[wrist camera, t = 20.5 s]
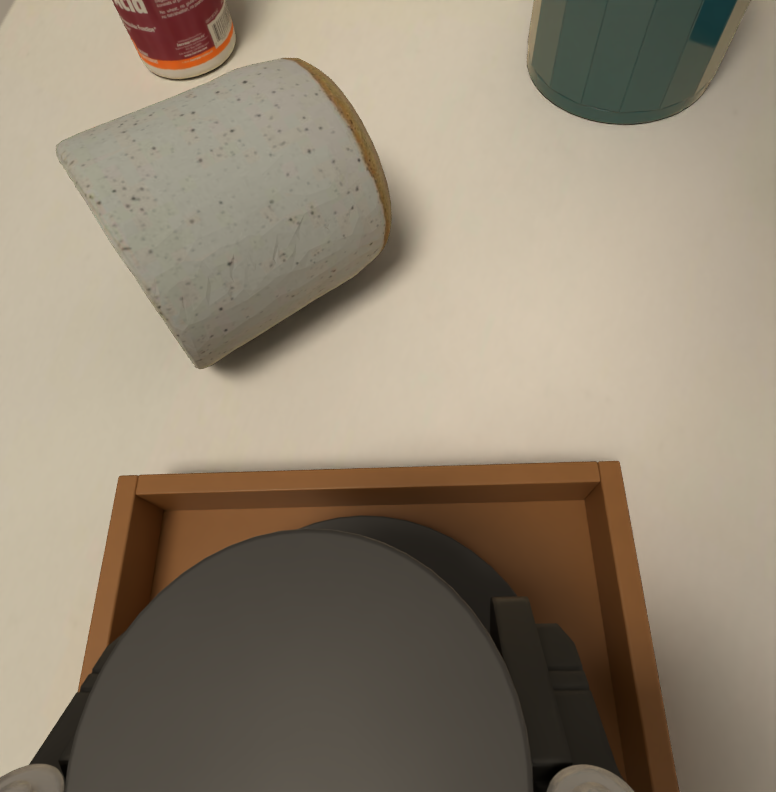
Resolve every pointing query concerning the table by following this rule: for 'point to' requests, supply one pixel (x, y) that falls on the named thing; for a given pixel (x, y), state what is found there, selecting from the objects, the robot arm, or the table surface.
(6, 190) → the table surface
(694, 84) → the cup
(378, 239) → the ceramic mug
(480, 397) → the table surface
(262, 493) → the tray
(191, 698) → the flanged dark cylinder
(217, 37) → the pill bottle
